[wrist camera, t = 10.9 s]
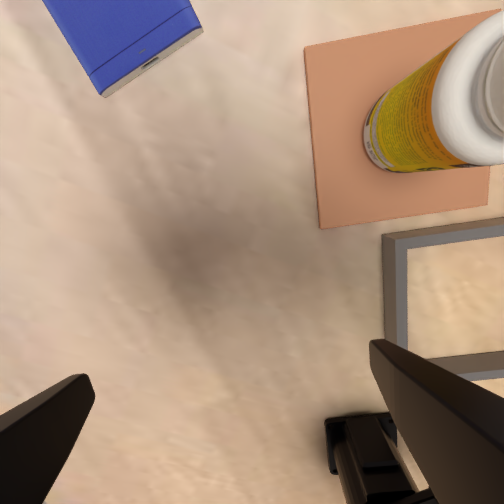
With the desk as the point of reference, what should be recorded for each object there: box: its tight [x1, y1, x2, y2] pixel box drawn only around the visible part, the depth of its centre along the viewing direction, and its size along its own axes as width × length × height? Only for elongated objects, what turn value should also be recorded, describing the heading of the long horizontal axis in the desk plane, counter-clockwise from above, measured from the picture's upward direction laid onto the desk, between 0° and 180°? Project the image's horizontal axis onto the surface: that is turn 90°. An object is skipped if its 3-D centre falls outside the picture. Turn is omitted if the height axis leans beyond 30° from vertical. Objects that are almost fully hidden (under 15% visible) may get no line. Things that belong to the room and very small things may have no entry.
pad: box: [304, 9, 501, 229], centre depth 18 cm, size 12×12×1 cm
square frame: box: [382, 217, 504, 381], centre depth 20 cm, size 13×13×2 cm
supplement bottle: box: [364, 10, 504, 173], centre depth 13 cm, size 6×6×10 cm
